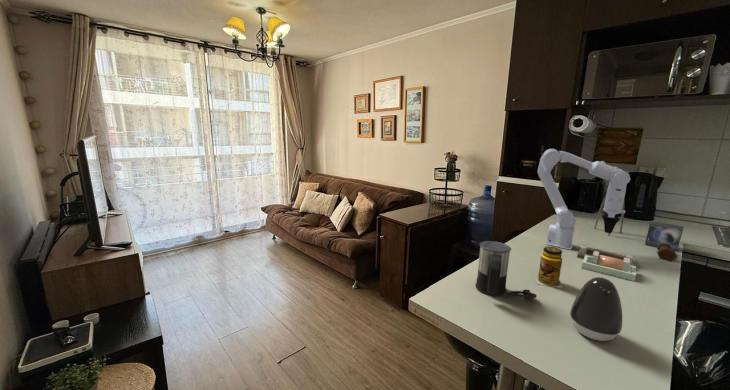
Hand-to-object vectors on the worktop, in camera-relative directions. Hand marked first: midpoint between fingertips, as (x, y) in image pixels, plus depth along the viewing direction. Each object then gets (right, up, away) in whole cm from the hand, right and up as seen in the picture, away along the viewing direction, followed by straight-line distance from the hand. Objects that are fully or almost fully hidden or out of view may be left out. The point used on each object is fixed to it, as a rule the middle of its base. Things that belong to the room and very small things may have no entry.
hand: (608, 230), depth 124 cm
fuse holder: (-5, -11, -5) cm, 13 cm away
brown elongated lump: (+24, -11, +1) cm, 26 cm away
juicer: (+22, -5, +27) cm, 35 cm away
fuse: (-12, -13, -14) cm, 23 cm away
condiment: (-40, -15, -23) cm, 48 cm away
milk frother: (-59, -16, -31) cm, 68 cm away
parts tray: (-12, -13, -14) cm, 23 cm away
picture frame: (+32, -9, +10) cm, 35 cm away
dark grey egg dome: (-45, -20, -49) cm, 70 cm away
